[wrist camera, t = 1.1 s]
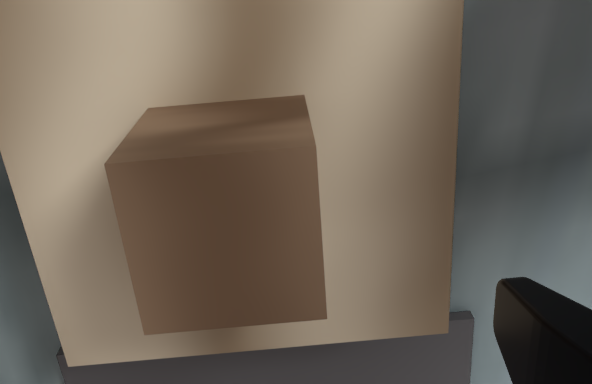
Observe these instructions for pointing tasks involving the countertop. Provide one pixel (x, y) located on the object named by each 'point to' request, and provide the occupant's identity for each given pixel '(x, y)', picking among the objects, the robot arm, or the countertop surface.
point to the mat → (305, 363)
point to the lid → (233, 169)
